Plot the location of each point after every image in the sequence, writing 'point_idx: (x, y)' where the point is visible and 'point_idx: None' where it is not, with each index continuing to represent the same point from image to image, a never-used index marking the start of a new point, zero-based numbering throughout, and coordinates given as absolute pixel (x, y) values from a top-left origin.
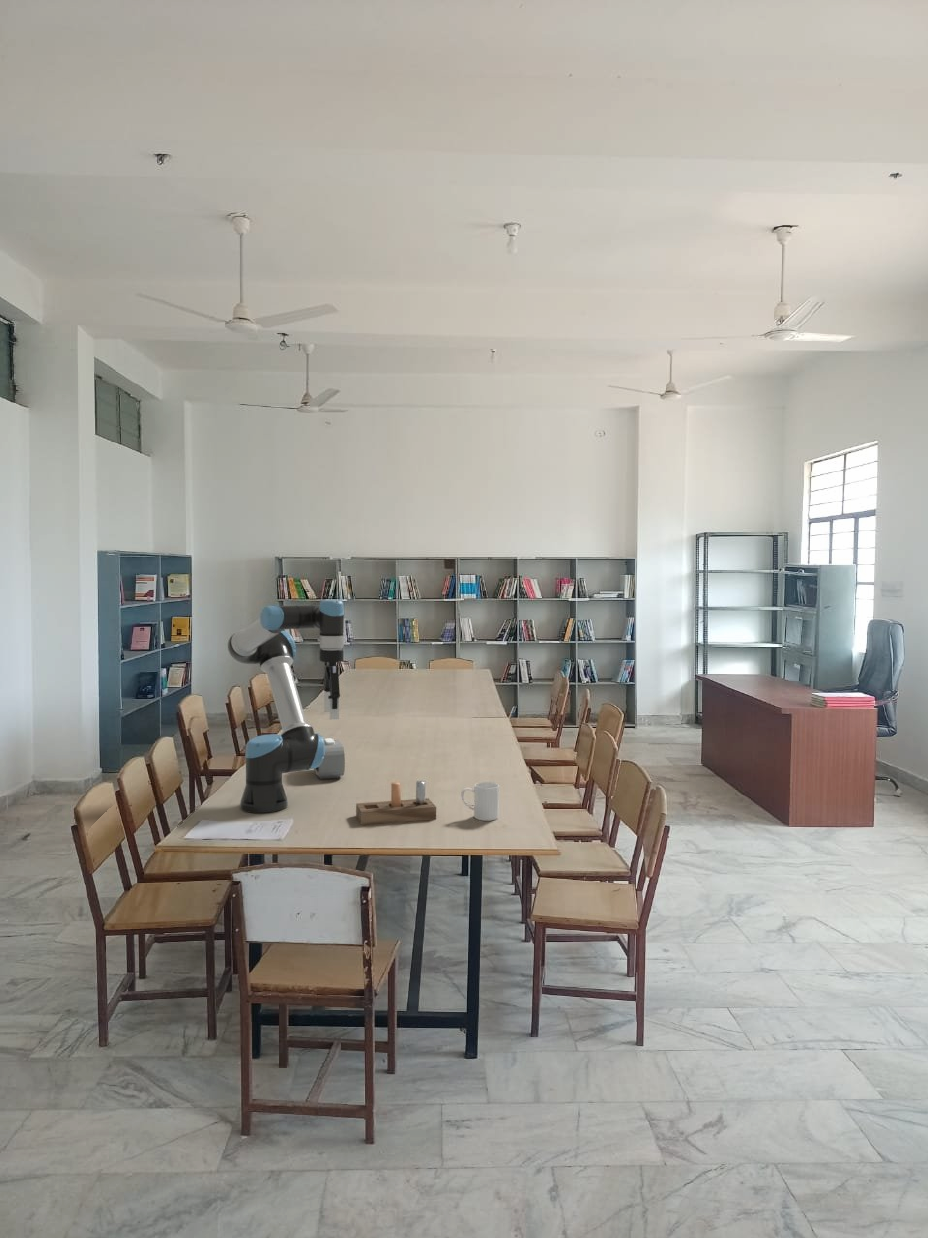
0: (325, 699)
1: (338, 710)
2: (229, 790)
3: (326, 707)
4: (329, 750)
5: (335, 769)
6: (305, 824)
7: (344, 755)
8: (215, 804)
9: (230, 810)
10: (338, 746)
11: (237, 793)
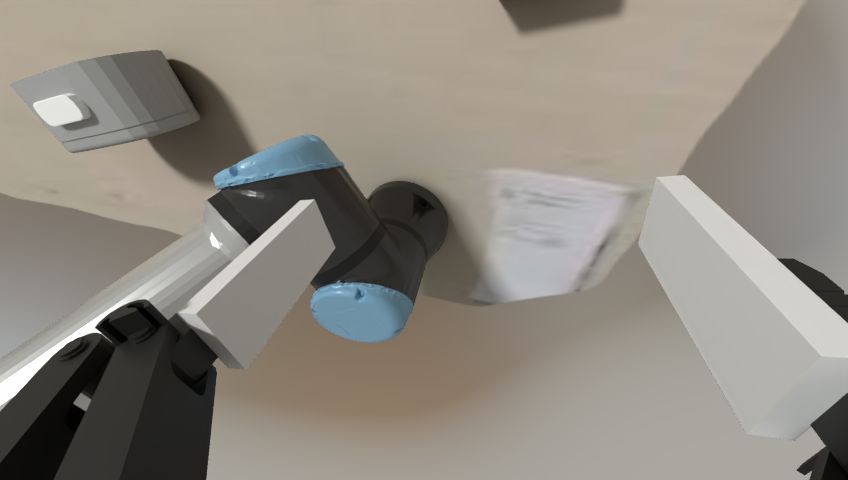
0: (284, 306)
1: (735, 224)
2: None
3: (316, 256)
4: (123, 107)
5: (169, 78)
6: (541, 143)
7: (113, 55)
8: None
9: None
10: (81, 79)
11: None
